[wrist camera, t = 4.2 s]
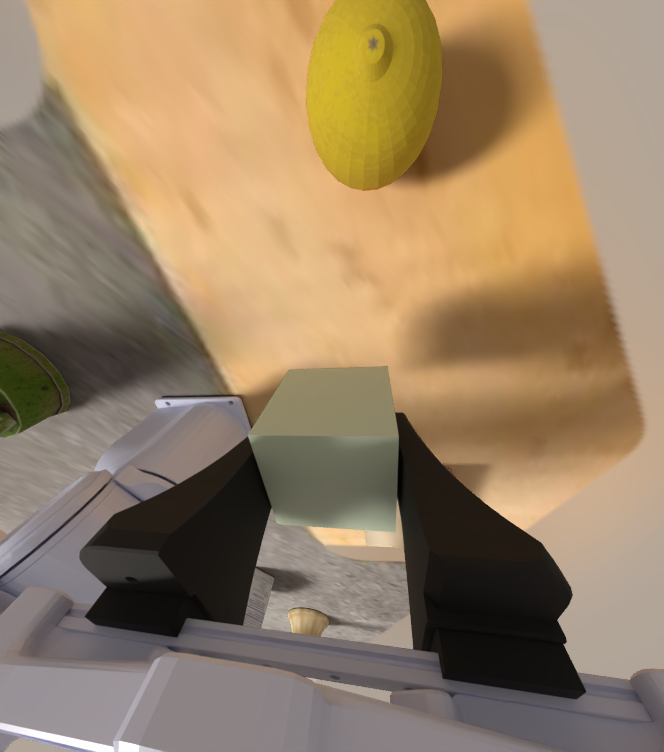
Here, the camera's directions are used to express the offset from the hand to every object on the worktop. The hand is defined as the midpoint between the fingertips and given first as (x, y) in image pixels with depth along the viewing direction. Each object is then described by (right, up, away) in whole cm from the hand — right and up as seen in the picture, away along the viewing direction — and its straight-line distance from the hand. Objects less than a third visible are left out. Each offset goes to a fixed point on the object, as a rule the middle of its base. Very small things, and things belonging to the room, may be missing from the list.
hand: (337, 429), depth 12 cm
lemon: (+2, +16, +2) cm, 16 cm away
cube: (0, +1, +1) cm, 2 cm away
